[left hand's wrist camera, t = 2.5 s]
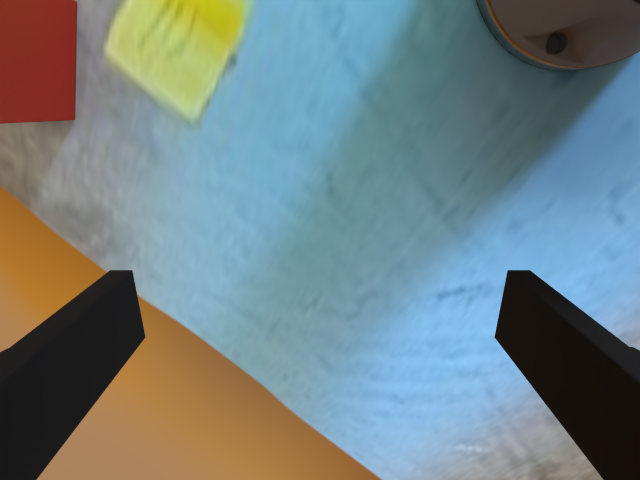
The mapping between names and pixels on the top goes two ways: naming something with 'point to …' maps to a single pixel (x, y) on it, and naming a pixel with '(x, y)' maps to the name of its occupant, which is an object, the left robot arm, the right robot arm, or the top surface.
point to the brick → (37, 60)
